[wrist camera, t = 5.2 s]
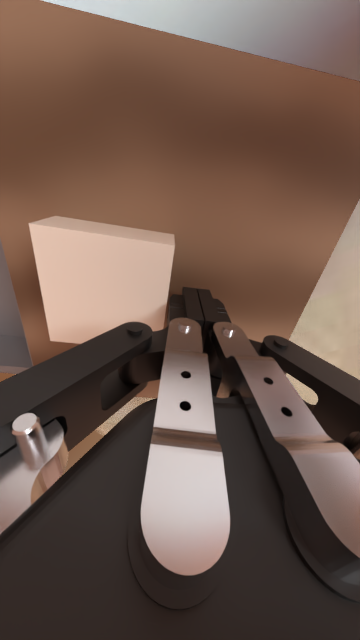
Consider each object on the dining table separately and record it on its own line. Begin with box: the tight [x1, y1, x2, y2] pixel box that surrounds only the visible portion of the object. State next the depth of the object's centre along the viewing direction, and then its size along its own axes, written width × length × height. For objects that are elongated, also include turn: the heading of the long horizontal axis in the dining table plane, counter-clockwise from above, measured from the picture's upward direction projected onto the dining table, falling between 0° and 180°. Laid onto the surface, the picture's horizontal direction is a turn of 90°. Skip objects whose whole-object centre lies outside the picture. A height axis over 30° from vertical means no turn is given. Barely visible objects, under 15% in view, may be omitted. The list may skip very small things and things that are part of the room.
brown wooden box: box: [0, 0, 360, 398], centre depth 16 cm, size 20×18×6 cm
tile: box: [29, 216, 175, 344], centre depth 12 cm, size 6×6×2 cm
